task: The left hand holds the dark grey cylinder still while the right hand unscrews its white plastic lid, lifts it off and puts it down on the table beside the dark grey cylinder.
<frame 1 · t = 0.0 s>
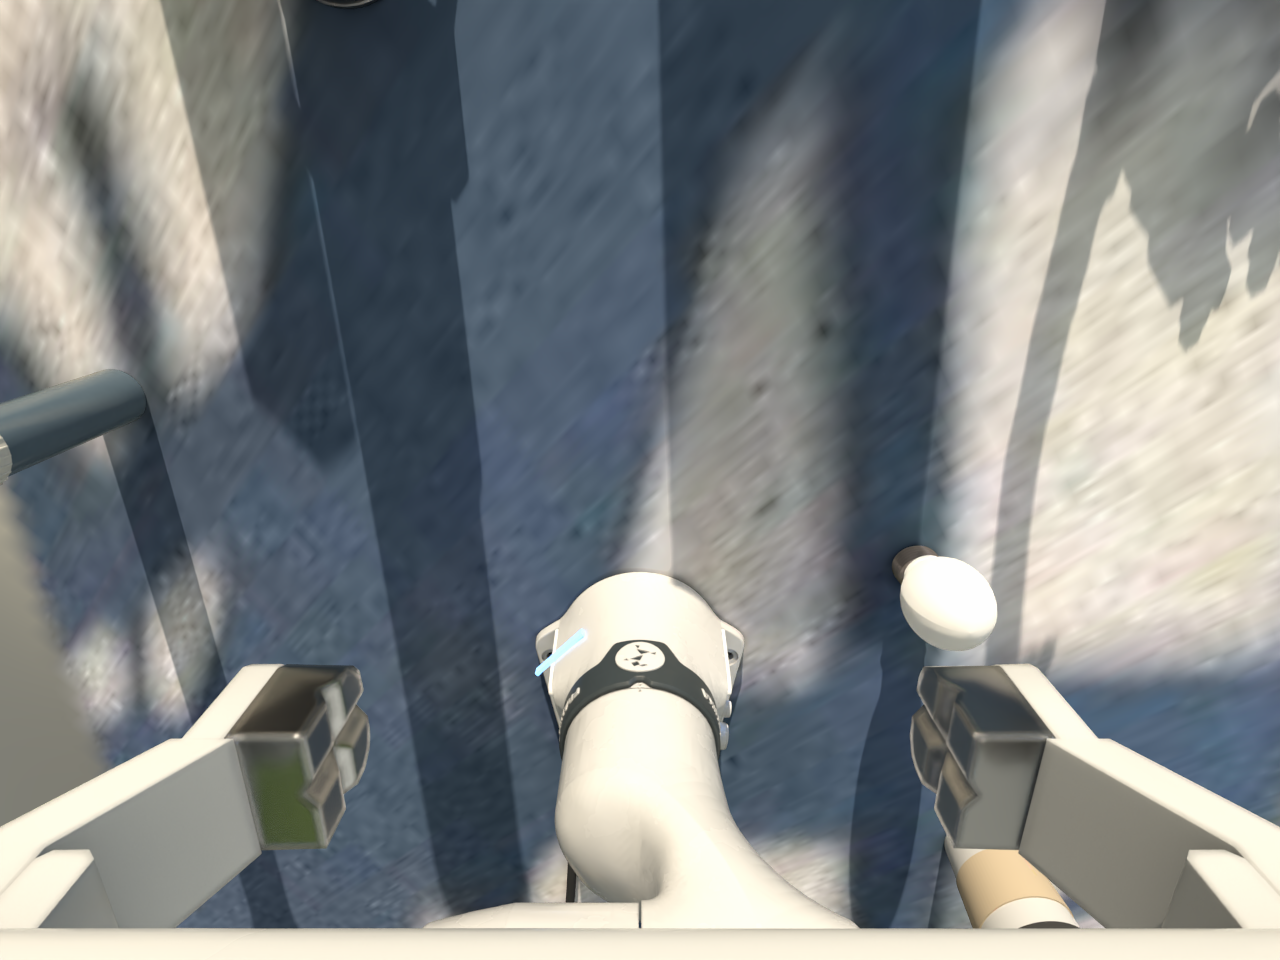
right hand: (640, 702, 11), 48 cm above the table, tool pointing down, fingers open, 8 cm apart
dark grey cylinder: (117, 396, 58), on the table
light bulb: (916, 561, 64), on the table
coffee cup: (977, 838, 75), on the table
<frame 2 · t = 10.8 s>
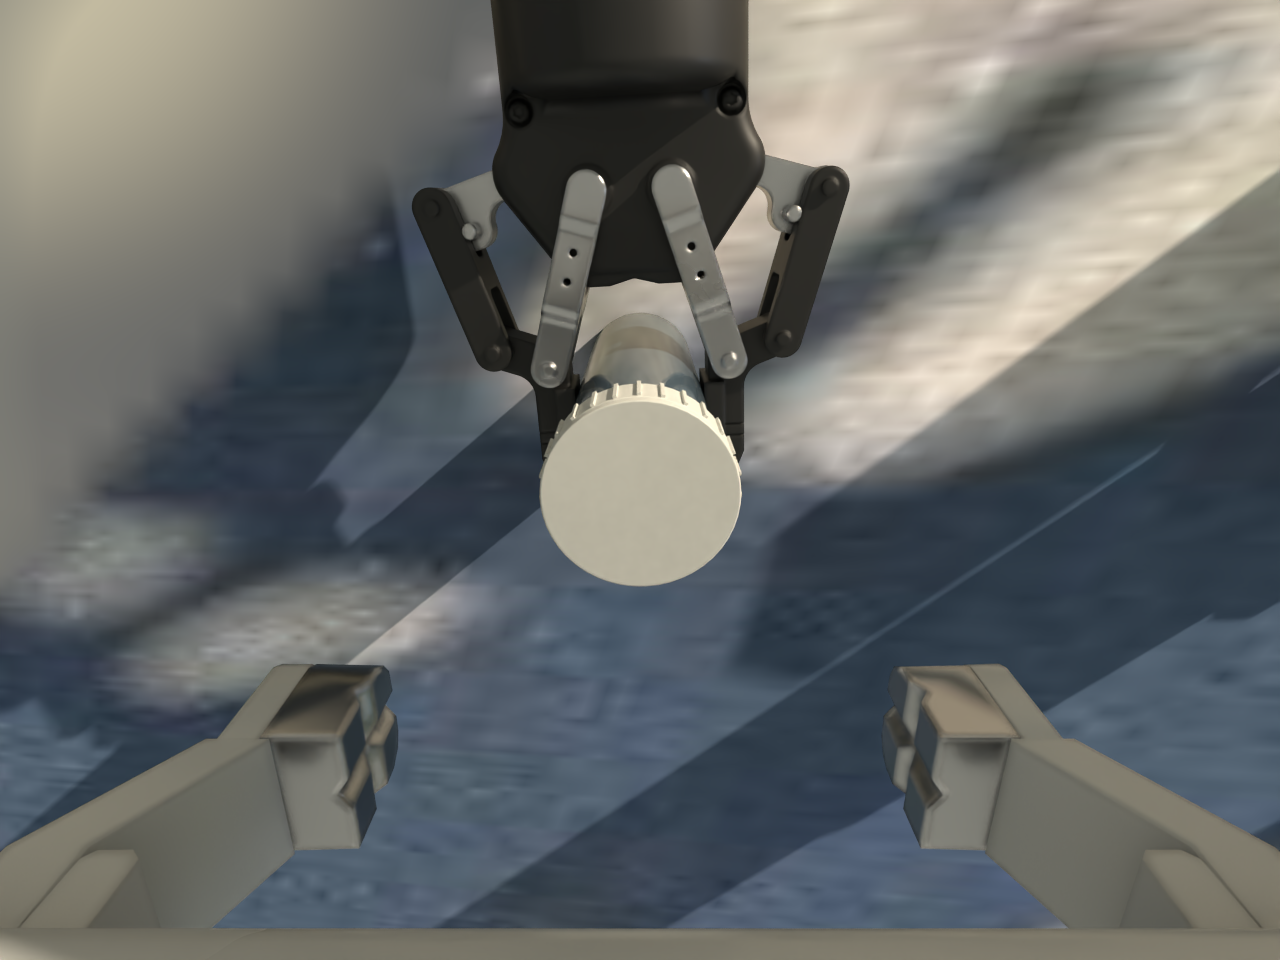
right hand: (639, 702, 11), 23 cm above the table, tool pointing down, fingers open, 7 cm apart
left hand: (645, 474, 27), fingers closed on dark grey cylinder, 4 cm apart
lid: (640, 492, 18), point 15 cm above the table, screwed on, not yet turned
dark grey cylinder: (640, 363, 32), on the table, touching left hand
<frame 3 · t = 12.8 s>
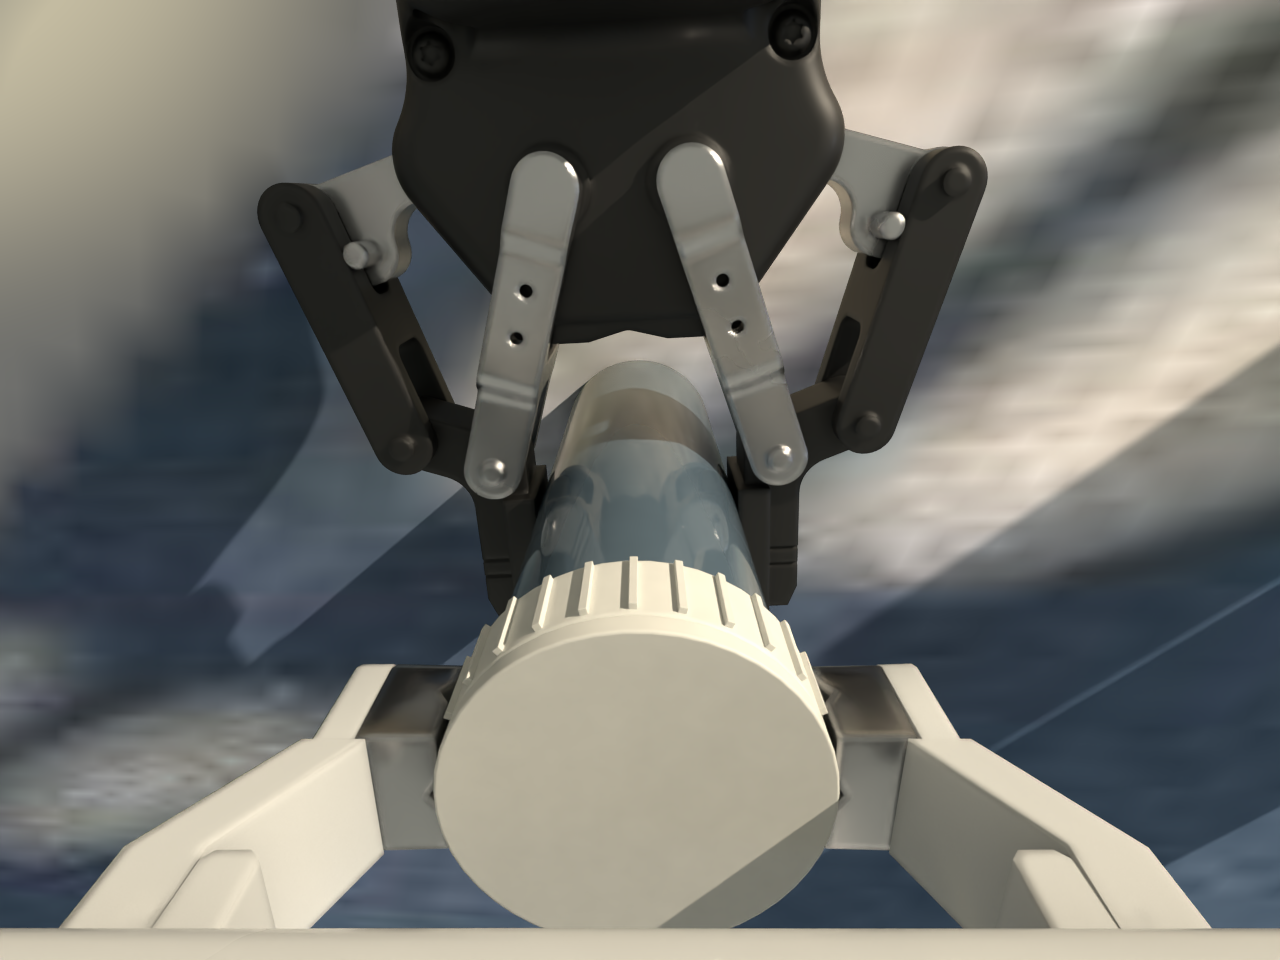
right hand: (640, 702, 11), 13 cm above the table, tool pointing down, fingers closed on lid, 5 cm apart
left hand: (645, 613, 18), fingers closed on dark grey cylinder, 4 cm apart
lid: (636, 783, 9), point 15 cm above the table, screwed on, not yet turned, touching right hand
dark grey cylinder: (638, 429, 23), on the table, touching left hand
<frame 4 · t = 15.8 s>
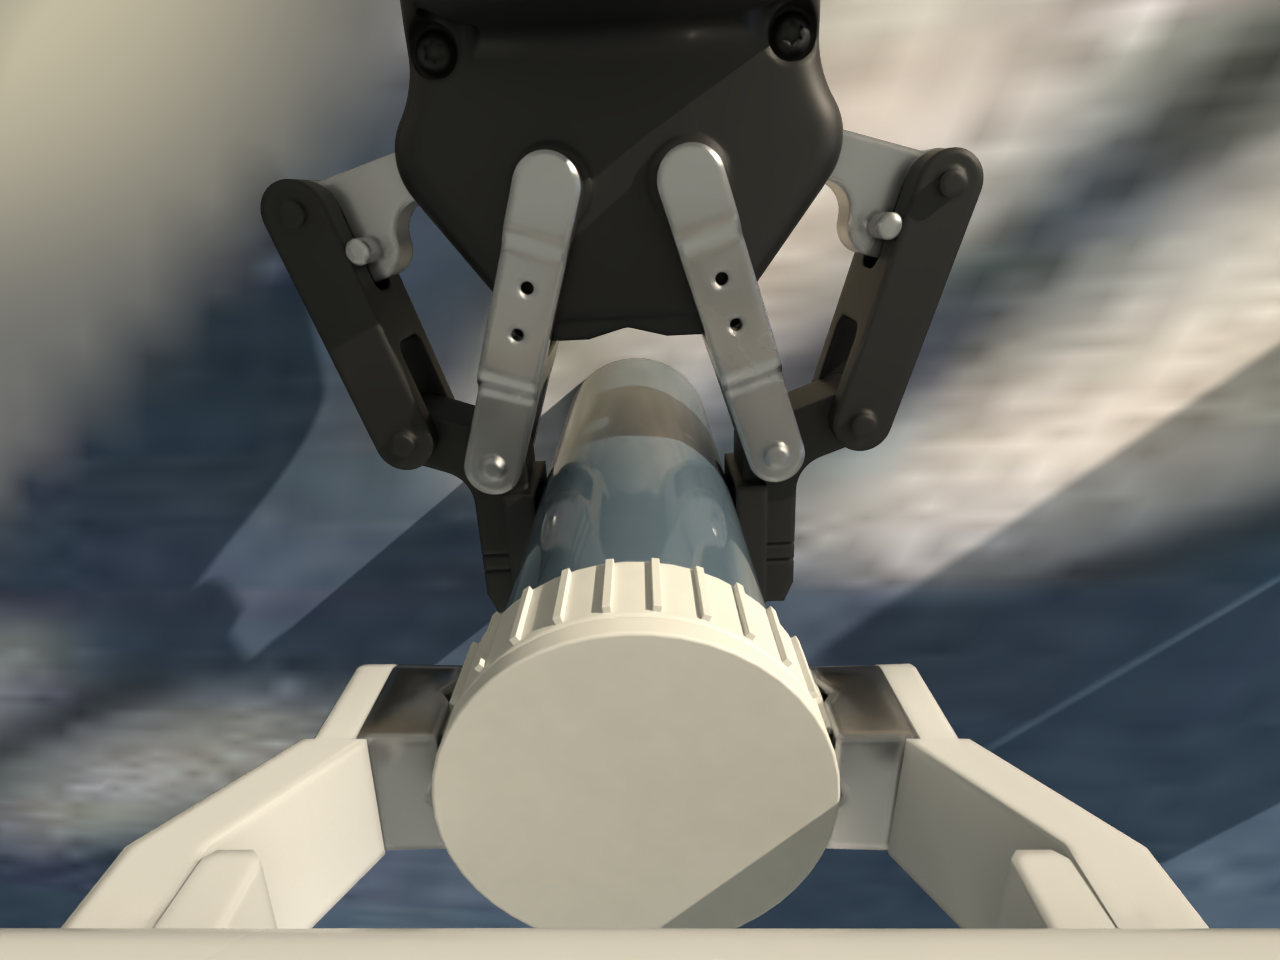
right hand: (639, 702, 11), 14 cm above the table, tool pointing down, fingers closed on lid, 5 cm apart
left hand: (642, 609, 18), fingers closed on dark grey cylinder, 4 cm apart
lid: (636, 785, 9), point 15 cm above the table, turned 60° so far, risen 0.2 cm, still on its thread, touching right hand
dark grey cylinder: (636, 426, 23), on the table, touching left hand
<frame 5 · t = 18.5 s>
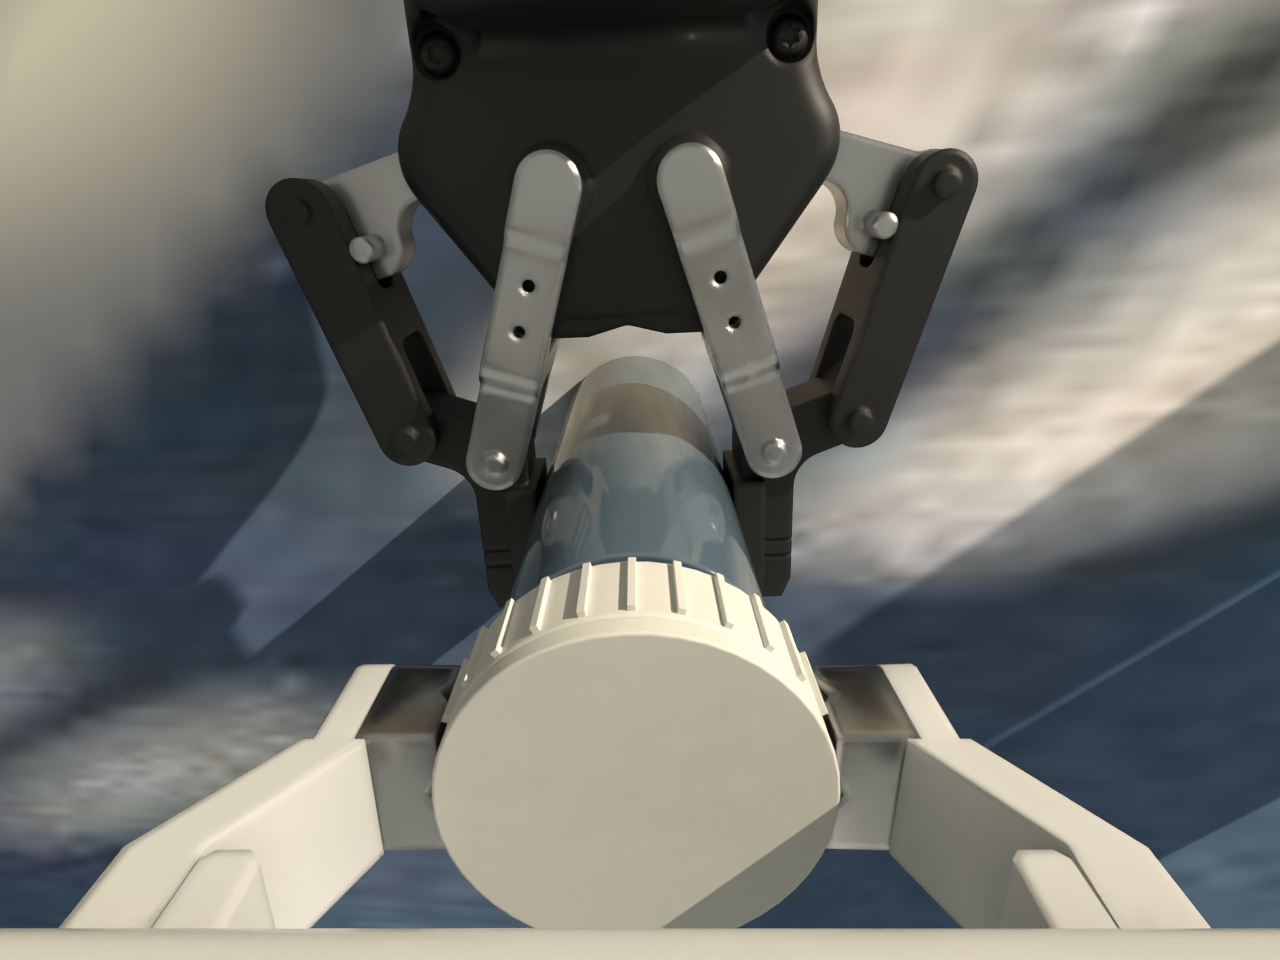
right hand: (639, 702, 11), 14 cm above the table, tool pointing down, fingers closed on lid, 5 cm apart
left hand: (642, 604, 18), fingers closed on dark grey cylinder, 4 cm apart
lid: (636, 785, 9), point 16 cm above the table, turned 121° so far, risen 0.4 cm, still on its thread, touching right hand
dark grey cylinder: (635, 424, 24), on the table, touching left hand
when the right hand's fingers open (2 cm above the table, at t = 25.2 s): lid drops 2 cm, point 1 cm above the table.
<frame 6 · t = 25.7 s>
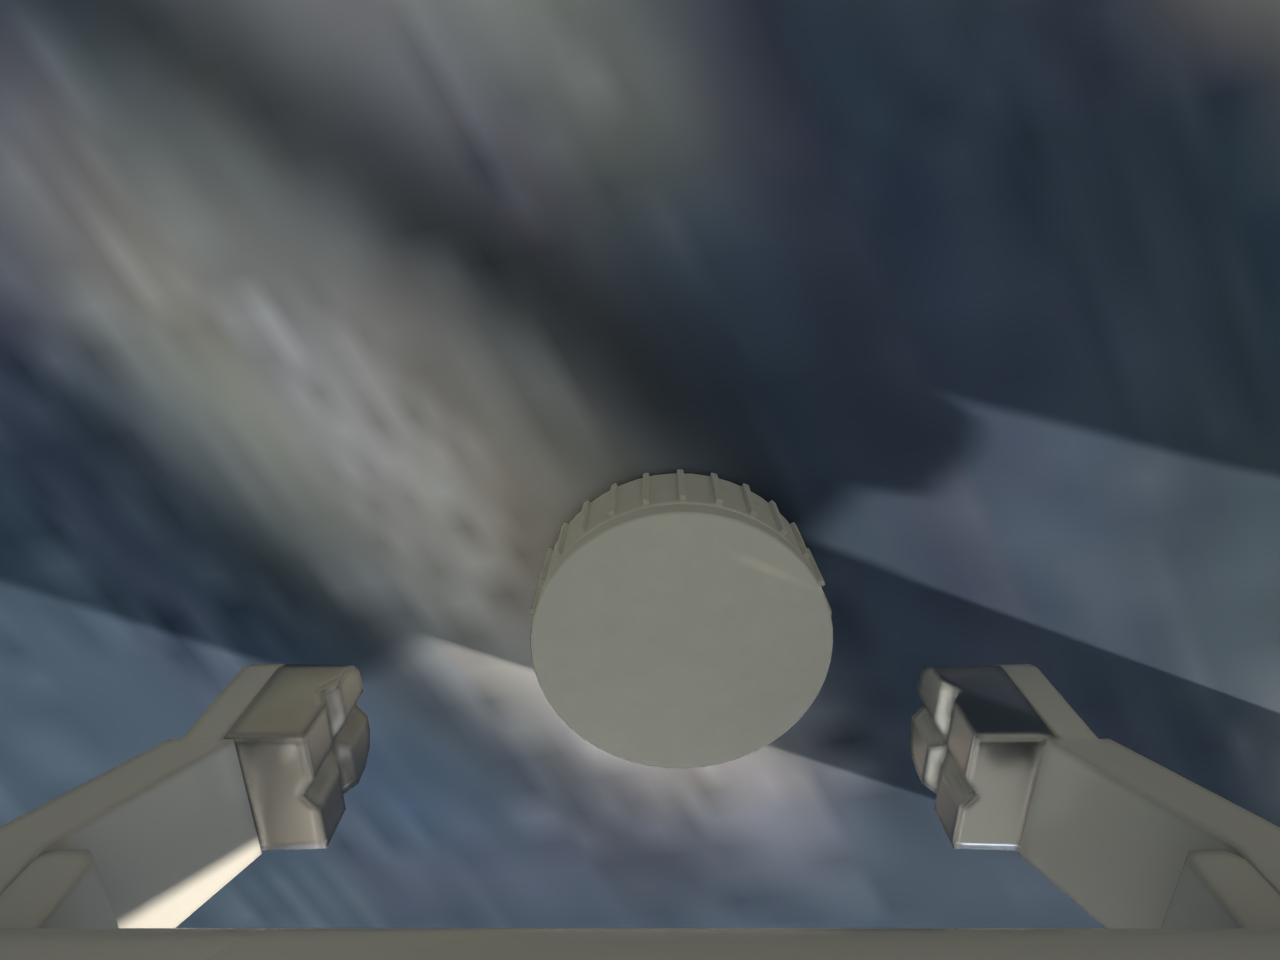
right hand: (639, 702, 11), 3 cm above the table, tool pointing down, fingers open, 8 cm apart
lid: (680, 638, 12), point 1 cm above the table, off its thread
when the left hand's fingers open (7 cm above the table, at t = 26.3 s): dark grey cylinder stays where it is, on the table.
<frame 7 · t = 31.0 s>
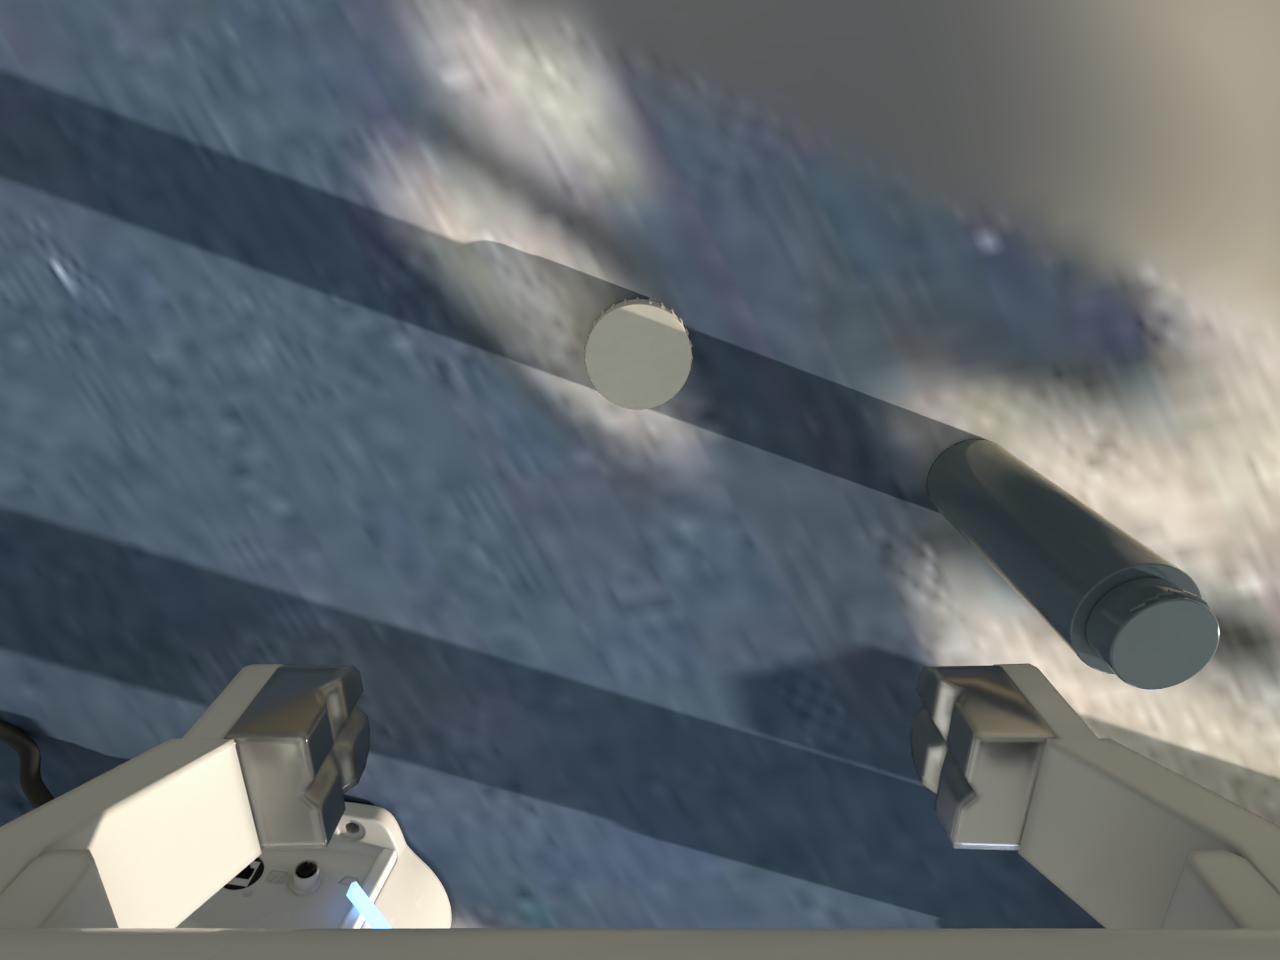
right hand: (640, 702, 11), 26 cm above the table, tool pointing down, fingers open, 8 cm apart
lid: (638, 356, 34), point 1 cm above the table, off its thread
dark grey cylinder: (969, 479, 38), on the table
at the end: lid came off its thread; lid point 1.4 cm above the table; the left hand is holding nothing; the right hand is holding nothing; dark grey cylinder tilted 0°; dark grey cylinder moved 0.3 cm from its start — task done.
